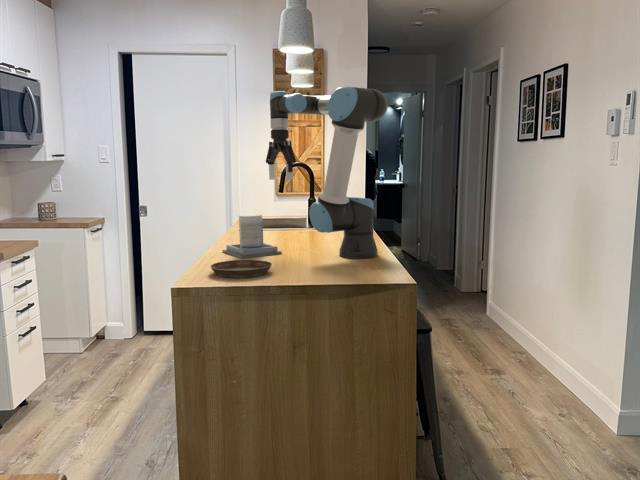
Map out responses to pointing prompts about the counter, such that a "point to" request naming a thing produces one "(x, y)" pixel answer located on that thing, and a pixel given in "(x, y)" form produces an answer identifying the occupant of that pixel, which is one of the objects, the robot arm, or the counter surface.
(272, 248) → the board
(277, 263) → the counter surface
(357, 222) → the robot arm
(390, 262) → the counter surface
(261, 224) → the supplement tub
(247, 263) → the plant saucer
